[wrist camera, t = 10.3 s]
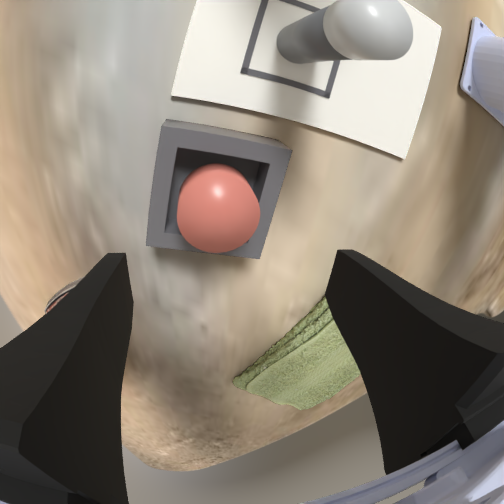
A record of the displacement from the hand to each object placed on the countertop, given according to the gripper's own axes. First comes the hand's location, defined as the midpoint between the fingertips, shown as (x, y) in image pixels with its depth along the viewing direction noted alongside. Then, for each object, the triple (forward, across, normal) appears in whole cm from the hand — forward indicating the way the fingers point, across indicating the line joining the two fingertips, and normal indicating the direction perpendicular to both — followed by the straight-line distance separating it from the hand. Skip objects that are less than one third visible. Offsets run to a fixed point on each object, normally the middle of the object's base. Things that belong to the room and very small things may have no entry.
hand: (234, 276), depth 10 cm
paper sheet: (+10, -7, -10) cm, 16 cm away
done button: (+7, 0, 0) cm, 8 cm away
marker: (+10, -4, -9) cm, 14 cm away
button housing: (+10, 0, 0) cm, 11 cm away
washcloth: (+11, -12, +18) cm, 24 cm away
